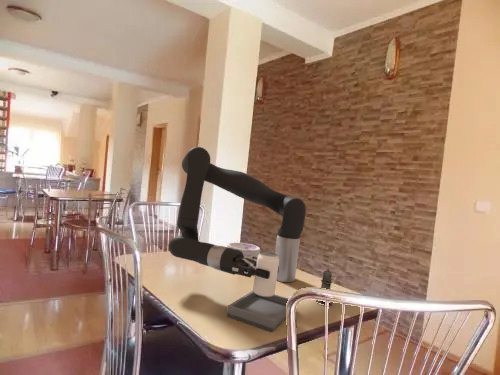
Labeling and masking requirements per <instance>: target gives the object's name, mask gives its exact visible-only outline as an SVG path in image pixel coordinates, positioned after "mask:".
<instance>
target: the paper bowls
mask: <svg viewBox="0 0 500 375" xmlns="http://www.w3.org/2000/svg"><path fill="white" fill-rule="evenodd" d="M226 247H228V248H232V249H236V250H240V251H241V252H242V253H243V256H244V258H246V257H250V258H252V257H257V258H258V255H259V254H260V251H261V248H260V247H259V246H257V245H255V244H252V243H247V242H238V241H237V242H235V241H234V242H229V243H227V245H226Z"/></svg>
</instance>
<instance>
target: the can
mask: <svg viewBox="0 0 500 375" xmlns="http://www.w3.org/2000/svg"><path fill="white" fill-rule="evenodd" d="M278 266H279V258H278V254H277V253H275V251H274V252H273V251H271V250H270V251H269V250H260V254H259V255H258V258H257V264H256V267H257V268H260V269H264V270H267V271H270V276H269V278H268V279H265V278H261V277H258V276H257V275H256V276H255V277H253V278H254V280H253V287H252V291H253V292H254V293H255V294H256V295H258V296H262V297H272V296H273V295H274V294H275V293H276V286H277V281H278V280H277V273H278Z"/></svg>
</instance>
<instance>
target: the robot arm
mask: <svg viewBox="0 0 500 375" xmlns="http://www.w3.org/2000/svg"><path fill="white" fill-rule="evenodd" d="M186 152H187V153H186V154H185V156H184V158H182V161H181V167H182V171H184V172H185V174H186V181H185V186H184V190H183V193H182V197H181V200H180V204H179V208H178V214H177V215H178V216H177V220H176V227H177V229H179V230H180V232H181V235H177V236H175V237H173V238H172V239H171V240H170V241H169V243H168V251H169V253H170V254H171V255H172V256H173V257H175V258H180V259H183V260H187V261H193V262H195V263H198V264H200V265H203V266H207V267H210V268H213V269H214V270H217V271H221V272H224V273H227V274H231V275H234V276H235V275H238V276H243V277H246V278H252V277H253V278H255V276H256V275H257V276H258V277H261V278H265V279H268V278H269V276H270V271H267V270H264V269H260V268H257V267H256V264H257V257H252V258H250V257H246V258H244V256H243V253H242V252H241V251H240V250H236V249H232V248H228V247H227V246H224V245H216V244H213V243H209V242H203V241H199V231H198V230H199V229H198V224H199V217H200V210H201V201H202V196H203V189H204V186H205V182H207V183H210V184H212V185H214V186H216V187H218V188H220V189H222V190H224V191H226V192H228V193H230V194H233V195H235V196H236V197H239V198H241V199H243V200H246V201H248V202H251V203H254V204H258V205H260V206H263V207H266V208H268V209H269V210H271V211H273V212H275V213H277V214H278V215H280V216H281V217H282V219H281V220H282V221H281V225H280V227H278V229H277V234H276V242H275V251H274V252H275V253H277V254H278V258H279V266H278V273H277V280H276V281H278V282H283V283H292V282H295V281H296V276H297V275H296V274H297V268H298V267H297V265H298V258H299V251H300V250H299V249H300V241H301V234H302V233H303V231H304V227H305V226H304V225H305V220H306V213H307V210H306V208H307V207H306V204H305V202H304V201H303V199H300V198H298V197H294V196H290V195H287V194H285V193H284V194H283V193H281V192H279V191H275V190H274V189H272V188H271V187H269V186H268V185H266V184H265V183H264V182H262V181H261V180H259V179H258V178H256V177H254V176H252V175H250V174H247V173H245V172H242V171H239V170H235V169H234V170H232V169H227V168H222V167H220V166H217V165H215V164H213V163H211V156H210V152H208V150H207V149H206V148H204V147H201V146H194V147H192V148H191V149H188V151H186Z"/></svg>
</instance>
